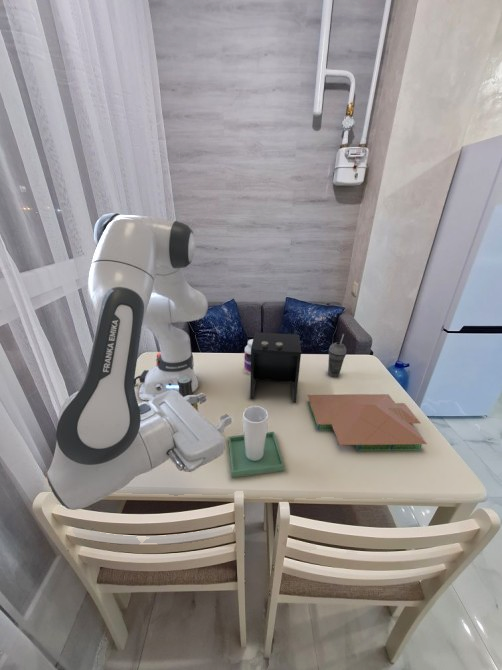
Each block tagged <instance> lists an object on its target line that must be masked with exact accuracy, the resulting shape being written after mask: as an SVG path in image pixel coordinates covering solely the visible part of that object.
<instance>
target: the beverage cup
mask: <svg viewBox="0 0 502 670" xmlns="http://www.w3.org/2000/svg"><path fill="white" fill-rule="evenodd" d="M344 336H345V333H342V335H341V339H340V342H339V341H336V342H333V343H331V344H330V346H329V348H328V351H327V352H328V362H327V363H328V366H327V376H329V377H330V378H332V379H338V378H339V376H340V374H341V371H342V367H343V364H344V361H345V358H346V355H347V348H346V346H345V344H344V343H342V342H343V339H344Z"/></svg>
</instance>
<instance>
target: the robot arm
mask: <svg viewBox="0 0 502 670" xmlns="http://www.w3.org/2000/svg"><path fill="white" fill-rule="evenodd" d="M93 239H94V243H95V247H96V249H95V251H94V253H93V258H92V260H91V264H90V268H89V272H88V279H87V296H86V297H87V300H86V301H87V304H88V306H89V307H90V309H91V310H92V312H93V315H94V319H95V331H94V337H93V341H92V346H91V349H90V354H89V360H88V364H87V369H86V374H85V378H84V381H83V382H82V385H81V387H80V388H79V389H78V390H76V391H75V392H74V393H72V394H71V395H69V397H67V398H66V399H65V401H64V402H63V404H62V406H61V407H60V410H59V413H58V417H57V420H58V421H57V426H56V432H55V433H56V435H55V436H56V437H55V438H56V441H55V442H56V443H55V450H54V453H53V457H52V460H51V463H50V466H49V468H48V469H47V472H46V480H47V483H48V486H49V487H50V489H51V493H52V494H53V495H54V497H55V499H56V500H57V501H58V502H59V503H60V505H61V506H62V507H65V509H67V510H71V511H72V510H73V511H77V510H82V509H85V508H87V507H89V506H91V505H93V504H95V503H98V502H99V501H101V500H103V499H105V498H107V497H109V496H110V495H112V494H114V493H116V492H119V490H121V489H123V488H124V487H126V486H127V485H128V484H129V483H131V481H132V480H134V479H135V478H136V477H138V476H140V475H142V474H147V473H149V472H151V471H152V470H154V469H155V468H157V467H159V466H161V465H163V464H164V463H166V462H167V461H169V460H171V462H173V464H174V465H175V467H176V469H177V470H178V471H180V472H181V471H183V472H186V473H193V472H194V471H196V470H198V469H199V468H201V467H202V466H205V465H206V464H209V463H211V462H212V461H214V460H216V459H218V458H220V457H221V456H222V455H223V454H224V452H225V449H226V442H225V441H226V440H225V439H226V438H225V436H224V435H223V432H225V429H226V427H228V426H230V425H231V424H232V422H233V421H232V417H231V416H230V415H228V413H224V415H221V416H220V423H219V424H217V423H215V424H214V425H213V424H211V423H210V422H209V421H208V420H207V418H205V417H204V416H203V414H201V413H200V411H199V410H198V411H197V410H196V409H195V408H194V407H193V406H192V405H191V404H194V403H197V404H199V405H202V404H203V403H206V401H207V395H206V394H205V393H203V392H200V393H198V394H194V395H187V396H185V397H183V396H182V395H181V394H180V393H179V385H178V382H177V380H178V378H179V377H181V376H190V377H191V379H192V383H191V385H192V391H193V393H194V392H195V391H196V390H197V389H198V387H199V381H198V379H197V376H196V372H195V370H194V365H195V361H194V356H193V355H194V354H193V352H192V347H191V337H190V335H189V334H188V333H187V332H186V331H185V330H183V329H182V328H178V327H176V326H174V325H173V324H175V323H187V322H194V321H198V320H201V319H203V318H205V316H206V315H207V313H208V309H209V302H208V299H207V296H205V294H204V293H203V292H202V291H199V290H198V289H195V288H194V287H192V286H191V285H190V284H189V283H188V282H187V280H186V277H185V272H184V268H187V267H188V266H190V265H191V264H192V260H193V259H194V257H195V254H196V238H195V236H194V232H193V230H192V228H191V227H190V226H189V225H188V224H186V223H184V222H181V221H178V220H175V221H172V220H169V219H165V218H160V217H157V216H156V217H155V216H152V215H151V216H150V215H145V216H144V215H134V214H120V213H115V212H114V213H113V212H112V213H105V214H103V215H102V216H100V217H99V218H98V219H97V221H96V222H95V224H94V229H93ZM143 326H144V327H146V329H148V330H149V331H150V332H151V333H152V334H153V335H154V336H155V338H156V341H157V345H158V347H159V352H157V353H156V360H155V365H154V366H152V367H151V368H149V369H144V370H143V372H142V373H141V374H140V375H138V376H136V370H137V369H136V368H137V362H138V356H139V349H140V343H141V342H140V340H141V335H142V327H143ZM135 376H136V377H135ZM137 380H139V383H141V385H140V387H139V391H138V396H139V399H140V400H142V401H141V402H139V403H138V399H137V395H136V391H135V385H136V384H137Z"/></svg>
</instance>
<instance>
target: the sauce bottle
mask: <svg viewBox="0 0 502 670" xmlns="http://www.w3.org/2000/svg"><path fill="white" fill-rule="evenodd" d="M177 382H178V385H179V393H180V394H181V395H182V396H183V397H185V396H187V395H195V393H194V392H193V391H192V385H191V383H192V379H191V377H190V376H181V377H179V378H178V380H177ZM191 405H192V406H193V407H194V408H195V409H196V410H197V411H198V412H199V407H198V403H194V404H191Z"/></svg>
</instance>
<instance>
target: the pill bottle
mask: <svg viewBox="0 0 502 670" xmlns="http://www.w3.org/2000/svg"><path fill="white" fill-rule="evenodd" d="M253 339H254V338H252V339H249V340H247V345H246V346H244V362H243V366H244V367H243V368H244V372H245V373H246V374H248V375H251V347H252V343H253Z"/></svg>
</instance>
